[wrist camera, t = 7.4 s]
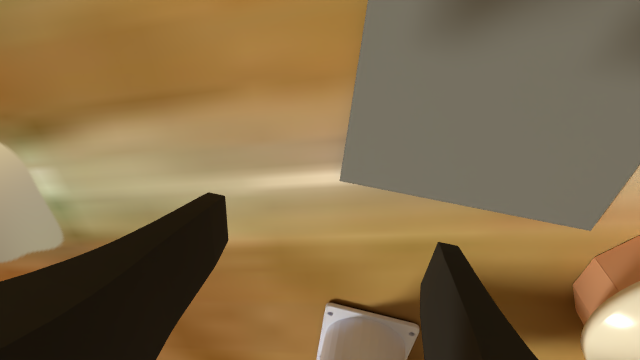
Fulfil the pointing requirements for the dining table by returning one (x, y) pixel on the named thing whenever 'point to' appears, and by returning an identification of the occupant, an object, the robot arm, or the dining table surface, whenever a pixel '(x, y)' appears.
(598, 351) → the lid
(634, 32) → the mat
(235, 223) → the dining table surface
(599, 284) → the brown rounded ring
